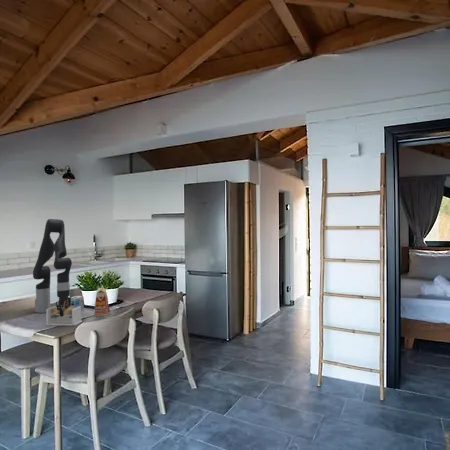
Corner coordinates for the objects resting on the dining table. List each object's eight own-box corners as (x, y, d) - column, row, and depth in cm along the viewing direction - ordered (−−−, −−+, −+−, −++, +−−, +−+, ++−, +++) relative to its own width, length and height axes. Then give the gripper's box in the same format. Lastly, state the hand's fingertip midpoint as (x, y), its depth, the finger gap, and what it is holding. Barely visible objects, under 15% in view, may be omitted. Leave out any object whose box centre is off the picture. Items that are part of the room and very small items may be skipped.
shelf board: (51, 314, 226) (51, 309, 226) (56, 312, 231) (55, 307, 231) (72, 314, 225) (72, 309, 225) (76, 312, 230) (76, 307, 230)
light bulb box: (75, 313, 252) (75, 298, 252) (66, 313, 253) (66, 298, 253) (84, 310, 262) (83, 295, 262) (76, 309, 264) (75, 295, 264)
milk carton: (97, 312, 254) (96, 285, 254) (110, 312, 255) (109, 284, 254) (93, 316, 245) (93, 287, 244) (107, 315, 245) (106, 286, 245)
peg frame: (45, 325, 225) (45, 309, 225) (53, 321, 234) (53, 306, 234) (75, 325, 223) (74, 309, 223) (82, 321, 232) (82, 306, 232)
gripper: (64, 286, 235) (64, 312, 236) (51, 291, 221) (51, 318, 221) (74, 286, 235) (75, 312, 235) (62, 291, 220) (63, 318, 221)
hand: (63, 315), depth 228 cm, fingers closed on shelf board, 5 cm apart
